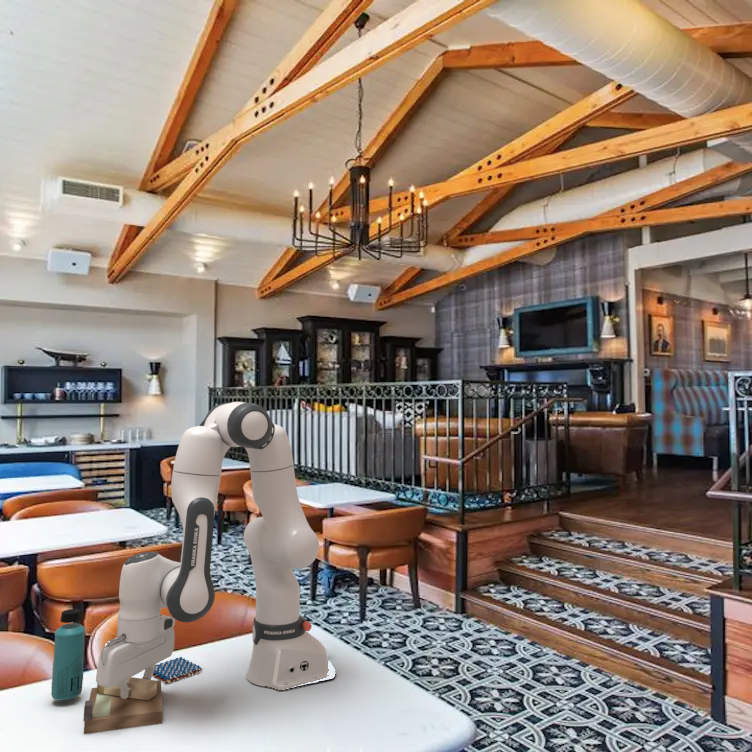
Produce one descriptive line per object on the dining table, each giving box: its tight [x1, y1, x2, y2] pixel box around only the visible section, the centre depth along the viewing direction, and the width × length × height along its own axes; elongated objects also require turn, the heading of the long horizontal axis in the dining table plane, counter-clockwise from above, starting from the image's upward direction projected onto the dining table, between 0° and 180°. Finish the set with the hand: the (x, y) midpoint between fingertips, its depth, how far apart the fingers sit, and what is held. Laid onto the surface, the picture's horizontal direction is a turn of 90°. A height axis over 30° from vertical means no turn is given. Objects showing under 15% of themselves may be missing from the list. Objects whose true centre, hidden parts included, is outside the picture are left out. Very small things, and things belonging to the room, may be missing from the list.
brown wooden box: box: [83, 679, 163, 735], centre depth 135 cm, size 15×16×6 cm
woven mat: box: [152, 656, 203, 685], centre depth 156 cm, size 10×11×2 cm
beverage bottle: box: [50, 608, 86, 701], centre depth 140 cm, size 6×7×20 cm
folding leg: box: [96, 676, 158, 700], centre depth 137 cm, size 14×3×3 cm, turn 77°
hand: (135, 691), depth 136 cm, fingers open, 4 cm apart
